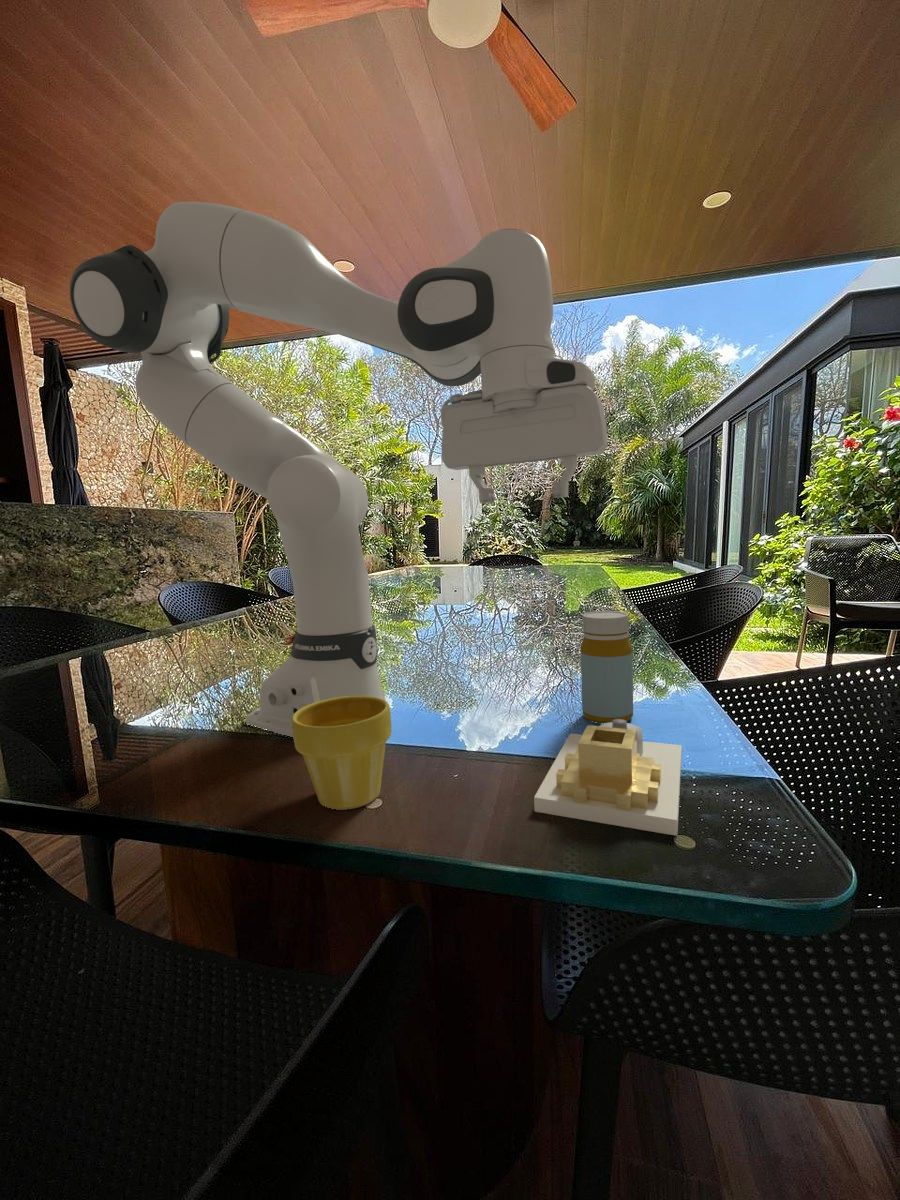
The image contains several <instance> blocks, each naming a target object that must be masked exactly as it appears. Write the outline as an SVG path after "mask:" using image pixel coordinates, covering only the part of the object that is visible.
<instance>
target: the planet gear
mask: <svg viewBox="0 0 900 1200" xmlns="http://www.w3.org/2000/svg"><path fill="white" fill-rule="evenodd" d="M581 735H582V737H581V739H580V741H579V743H578V749H577V750H576V752H575V754H568V753H567V754H566V756H565V770H563V769H558V771H557V773H556V787H557V788H560V789H561V796H566V797H572V798H574V802H577V803H583V804H587V802H588V800H592V801H598V802H605V803H611V804H617V809H621V810H628V811H631V807H637V808H643V809H648V804H649V802H653V803H658V798H659V784H660V782H661V765H659V764H654V758H648V757H640V753H637V730H631V729H621V728H611V727H601V726H600V725H589V724H588V725H586V727H585V729H584V731H583V733H582V734H581Z"/></svg>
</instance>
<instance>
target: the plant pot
mask: <svg viewBox="0 0 900 1200" xmlns="http://www.w3.org/2000/svg"><path fill="white" fill-rule="evenodd" d="M385 700H386V699H385ZM385 700H384V699H381V698H378V697H372V696H344V697H337V698H331V699H326V700H322V701H318V702H315V703H312V704H309V705H307V706H305V707H303V708H301V709H299V710H298V711H296V712H295V713H294V715H293V716H292V729H293V737H294V738H293V743H294V747H295V750H296V751H297V752H298V753H299V754H301V755H302V757H303V759H304V762H305V765H306V768H307V771H308V773H309V776H310V780H311V782H312V785H313V788H314V790H315V793H316V796H317V800H318V802H319V804H320V805H322V807H324V806H325V807H324V808H326V807H327V809H329V808H331V809H330V810H334V809H336V811H346V810H347V811H348V809H349V810H354V809H358V808H361V807H364V806H366V805H368V804H371V803H372V802H373V801H375V800H376V799H377V798H378V796H379V795H380V792H381V786H382V777H383V769H384V768H383V767H384V760H385V754H386V753H385V751H386V743H387V742H388V740H389V739H390V738H391V736H392V716H391V707H390V704H389V702H388V701H387V700H386V701H385Z"/></svg>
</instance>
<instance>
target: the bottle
mask: <svg viewBox="0 0 900 1200" xmlns="http://www.w3.org/2000/svg"><path fill="white" fill-rule="evenodd" d="M629 619H630V617H629V613H627V612H624V611H617V610H616V611H614V610H600V611H591V612H586V613H583V615H582V629H583V631H582V633H583V638H582V641H581V644H580V674H581V675H580V676H581V683H580V684H581V709H582V715H583V716H584V717H585V718H586V719H587V721H589V720H590V721H589V722H591V721H593V722H597V723H603V724H604V723H610V722H612V721H613V720H615V719H622V720H625V721H628V720H629V721H630V720H631V718H633V716H634V677H633V676H634V672H633V671H634V669H633V667H634V666H633V665H634V661H633V645H632V644H631V641H630V638H629V637H630V635H629V629H630V627H629V626H630V622H629ZM629 721H628V722H629ZM593 722H592V723H593ZM597 723H596V724H597Z"/></svg>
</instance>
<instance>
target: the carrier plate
mask: <svg viewBox="0 0 900 1200" xmlns="http://www.w3.org/2000/svg"><path fill="white" fill-rule="evenodd" d="M599 726H601V727H611V728H621V729H631V730H637V753H640V757H648V758H654V764H659V765H661V782H660V784H659V798H658V803H653V802H649V804H648V809H643V808H637V807H631V811H628V810H621V809H617V804H611V803H605V802H598V801H592V800H588V802H587V804H583V803H577V802H574V798H572V797H566V796H561V789H560V788H557V787H556V773H557V771H558V769H563V770H565V756H566V754H567V753H568V754H575V752H576V750H577V749H578V743H579V741H580V739H581V737H582V735H583V734H579V733H578V734H577V733H569V735H568V737H567V738H566V740H565V742H564V744H563V746H562V747H561V749H560V751H559V752H558V754H557V755H556V758H555V760H554V761H553V763H552V765H551V767H550V768H549V770H548V771H547V774H546V775H545V778H544V779H543V781H542V783H541V784H540V786H539V788H538V790H537V791H536V793H535V795H534V797H533V799H534V800H533V802H534V812H536V813H542V814H547V815H553V816H559V817H563V818H564V817H565V818H570V819H577V820H583V821H588V822H593V823H599V824H605V825H613V826H618V827H623V828H629V829H636V830H641V831H645V832H646V831H647V832H652V833H653V832H654V833H658V834H664V835H671V836H677V837H678V831H679V815H680V814H679V812H680V811H679V809H680V797H679V796H681V795H680V791H681V778H680V777H682V760H681V758H682V755H683V753H682V751H683V750H682V747H683V745H682V744H674V743H673V744H672V743H665V742H664V743H663V742H653V741H644V738H643V736H644V734H643V729H642V728H641V727H640V726H638V725H635V724H634V723H633V724H632V723H630V722H629V723H628V722H627V721H625V720H622V719H615V720H613V721H612V722H610V723H605V724H599Z"/></svg>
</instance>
